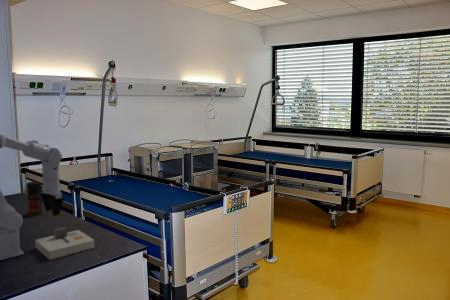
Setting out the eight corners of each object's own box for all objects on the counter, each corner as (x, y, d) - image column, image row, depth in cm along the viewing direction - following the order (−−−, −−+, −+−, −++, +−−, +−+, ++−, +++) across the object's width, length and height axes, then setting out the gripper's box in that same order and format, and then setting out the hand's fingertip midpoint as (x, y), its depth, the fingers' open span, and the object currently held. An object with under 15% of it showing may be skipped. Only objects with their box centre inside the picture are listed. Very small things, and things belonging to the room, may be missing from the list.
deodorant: (25, 214, 175) (23, 183, 173) (37, 211, 181) (35, 180, 179) (33, 216, 173) (32, 184, 171) (45, 213, 178) (43, 182, 176)
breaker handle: (56, 238, 139) (56, 230, 138) (54, 236, 140) (53, 229, 140) (67, 236, 141) (67, 228, 141) (65, 234, 143) (64, 226, 143)
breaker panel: (49, 259, 128) (49, 251, 127) (35, 247, 138) (35, 239, 137) (94, 247, 139) (94, 239, 138) (78, 237, 149) (78, 229, 148)
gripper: (69, 180, 142) (70, 215, 143) (54, 174, 152) (55, 206, 154) (49, 182, 137) (51, 218, 138) (36, 176, 147) (37, 210, 149)
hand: (52, 212), depth 146 cm, fingers open, 7 cm apart
